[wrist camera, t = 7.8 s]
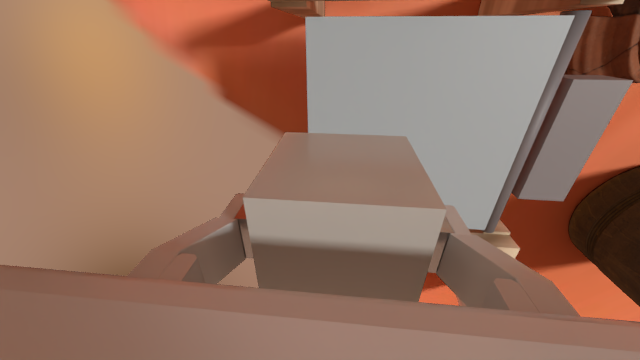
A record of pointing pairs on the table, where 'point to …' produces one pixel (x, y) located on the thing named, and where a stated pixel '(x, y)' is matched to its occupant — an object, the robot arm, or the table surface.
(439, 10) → the table surface
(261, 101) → the table surface
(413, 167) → the block
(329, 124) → the trapdoor
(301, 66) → the table surface
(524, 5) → the frame
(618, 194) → the wooden container
